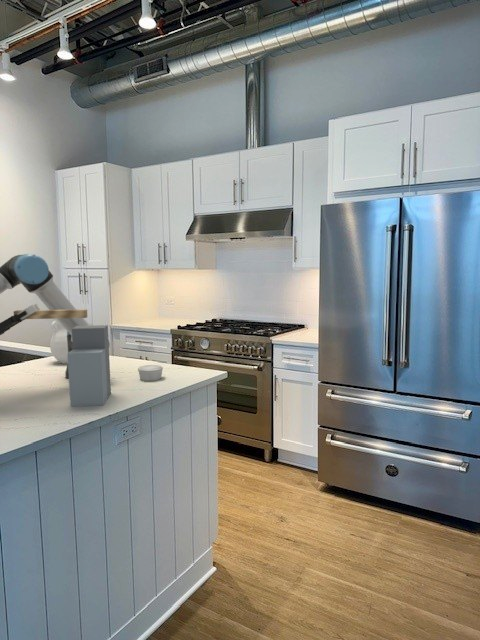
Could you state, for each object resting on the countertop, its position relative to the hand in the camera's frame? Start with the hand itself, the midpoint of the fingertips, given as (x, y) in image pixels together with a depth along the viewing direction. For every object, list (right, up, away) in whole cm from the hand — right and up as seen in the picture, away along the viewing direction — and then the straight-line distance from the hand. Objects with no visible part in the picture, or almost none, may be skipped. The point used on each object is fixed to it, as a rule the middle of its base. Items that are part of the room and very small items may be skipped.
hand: (36, 307), depth 173 cm
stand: (+19, -36, +6) cm, 41 cm away
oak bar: (+5, -4, +1) cm, 7 cm away
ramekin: (+36, -32, +38) cm, 61 cm away
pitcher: (-16, -28, +76) cm, 83 cm away
